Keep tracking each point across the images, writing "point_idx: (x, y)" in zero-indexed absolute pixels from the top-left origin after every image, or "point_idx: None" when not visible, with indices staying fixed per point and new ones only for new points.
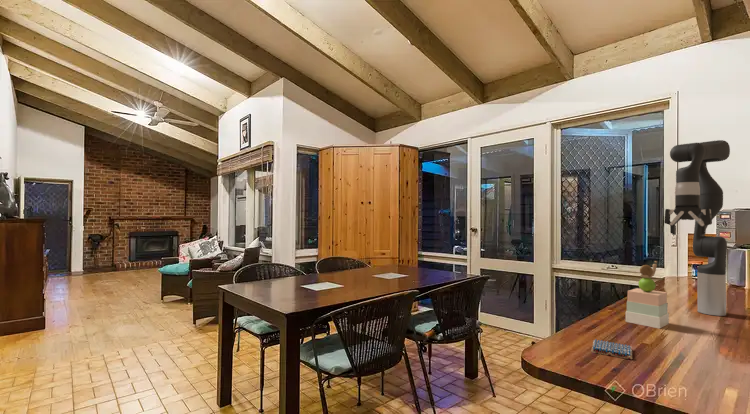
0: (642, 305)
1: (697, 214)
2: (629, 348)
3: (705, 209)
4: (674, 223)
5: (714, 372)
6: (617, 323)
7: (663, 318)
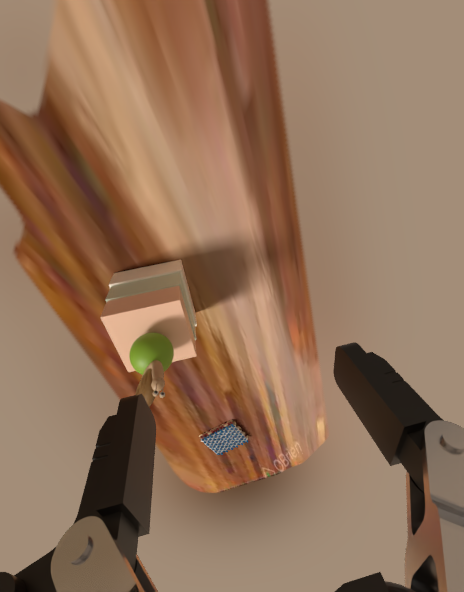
0: None
1: None
2: (238, 432)
3: None
4: (147, 574)
5: (304, 403)
6: None
7: (190, 300)
